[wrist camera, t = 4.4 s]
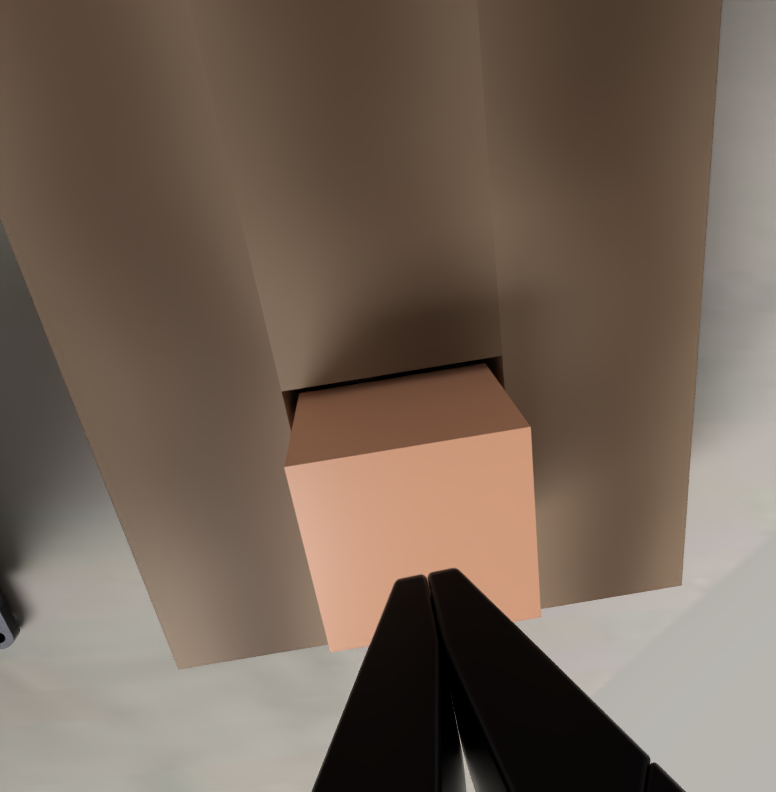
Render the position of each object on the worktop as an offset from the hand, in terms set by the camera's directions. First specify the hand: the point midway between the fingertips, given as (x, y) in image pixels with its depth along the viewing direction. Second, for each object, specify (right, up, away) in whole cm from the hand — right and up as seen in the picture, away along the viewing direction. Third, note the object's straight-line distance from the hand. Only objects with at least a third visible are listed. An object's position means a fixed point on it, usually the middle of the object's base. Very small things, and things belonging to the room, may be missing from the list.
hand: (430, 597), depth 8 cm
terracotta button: (0, +1, +6) cm, 7 cm away
